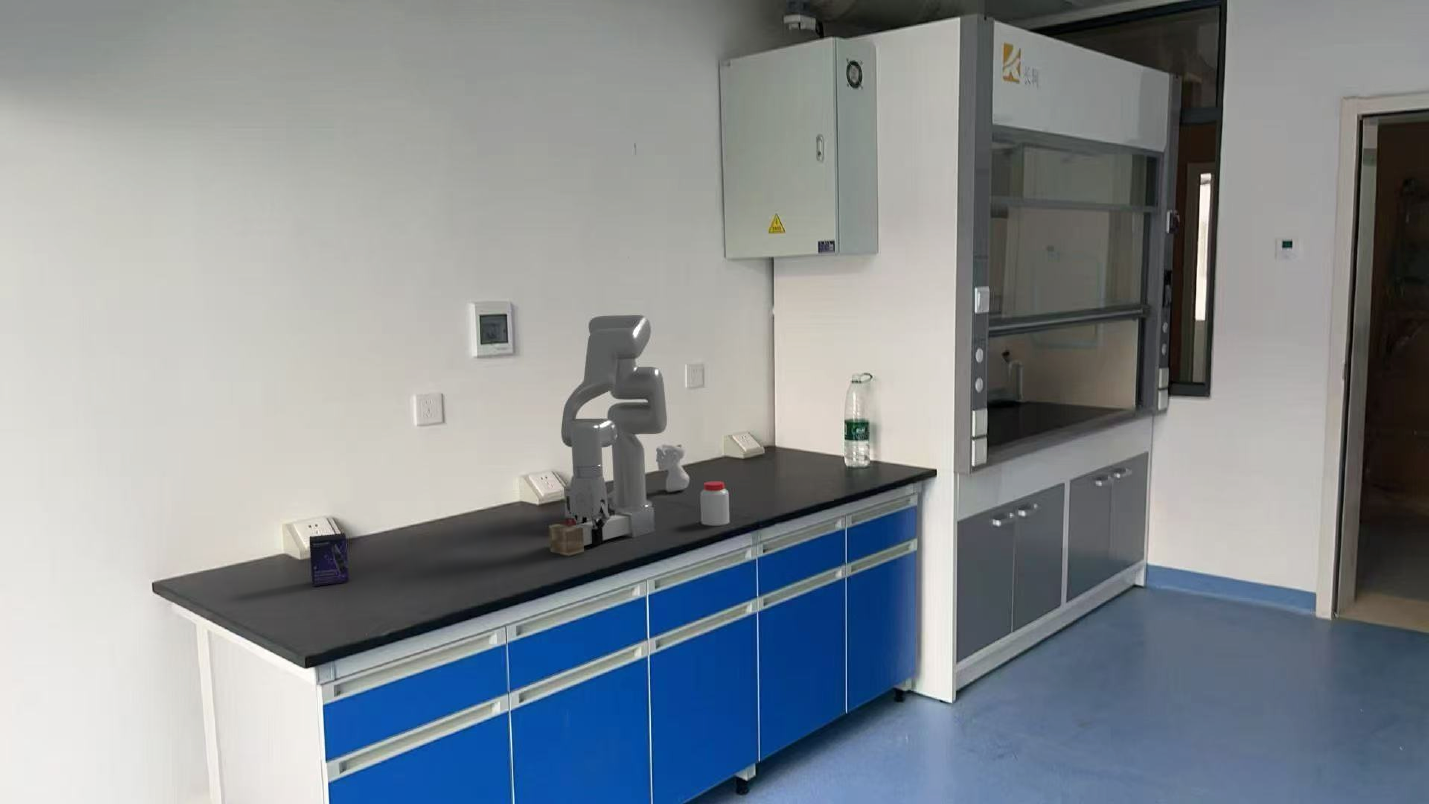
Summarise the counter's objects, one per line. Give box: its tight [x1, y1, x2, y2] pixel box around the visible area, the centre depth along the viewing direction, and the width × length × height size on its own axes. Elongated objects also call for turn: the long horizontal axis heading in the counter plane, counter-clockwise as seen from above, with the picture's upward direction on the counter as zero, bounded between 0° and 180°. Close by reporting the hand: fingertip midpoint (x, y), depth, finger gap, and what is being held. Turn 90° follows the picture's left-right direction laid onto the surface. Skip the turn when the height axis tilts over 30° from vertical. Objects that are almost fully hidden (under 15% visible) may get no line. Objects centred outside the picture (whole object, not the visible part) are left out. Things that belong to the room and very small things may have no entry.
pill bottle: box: [699, 480, 730, 527], centre depth 277 cm, size 8×8×11 cm
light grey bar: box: [571, 514, 631, 546], centre depth 259 cm, size 4×22×5 cm, turn 138°
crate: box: [548, 523, 585, 557], centre depth 251 cm, size 7×5×7 cm
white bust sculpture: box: [655, 443, 690, 493], centre depth 321 cm, size 10×11×15 cm
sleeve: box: [614, 505, 656, 538], centre depth 269 cm, size 7×8×6 cm
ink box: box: [563, 482, 598, 527], centre depth 278 cm, size 9×5×12 cm, turn 70°
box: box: [308, 532, 350, 588], centre depth 231 cm, size 8×6×11 cm
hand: (591, 541), depth 258 cm, fingers closed on light grey bar, 4 cm apart
